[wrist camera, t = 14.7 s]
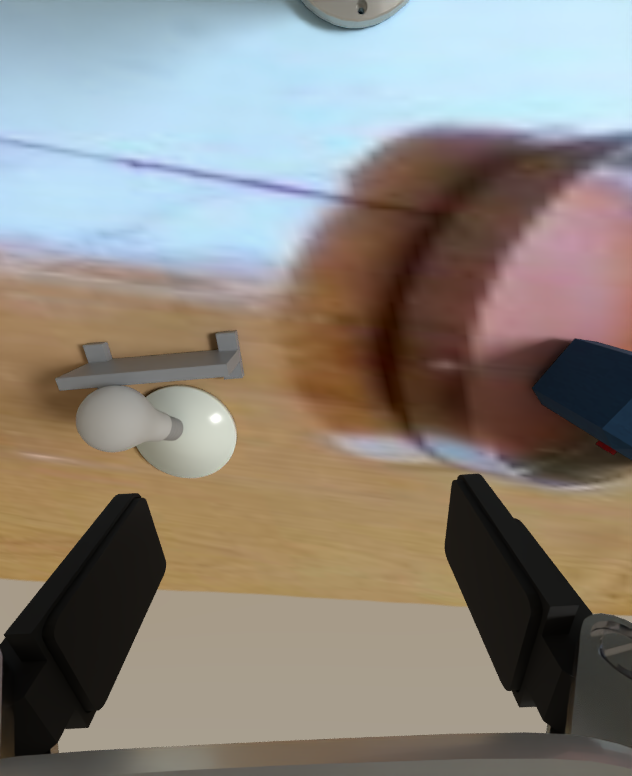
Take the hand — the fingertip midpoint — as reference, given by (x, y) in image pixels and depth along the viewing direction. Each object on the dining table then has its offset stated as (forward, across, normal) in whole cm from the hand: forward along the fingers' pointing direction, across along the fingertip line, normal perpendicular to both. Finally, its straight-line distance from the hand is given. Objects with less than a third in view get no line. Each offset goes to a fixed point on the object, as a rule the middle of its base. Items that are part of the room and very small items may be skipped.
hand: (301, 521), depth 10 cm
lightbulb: (+26, +15, +10) cm, 32 cm away
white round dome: (+27, +15, +11) cm, 33 cm away
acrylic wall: (+27, +16, +2) cm, 31 cm away
